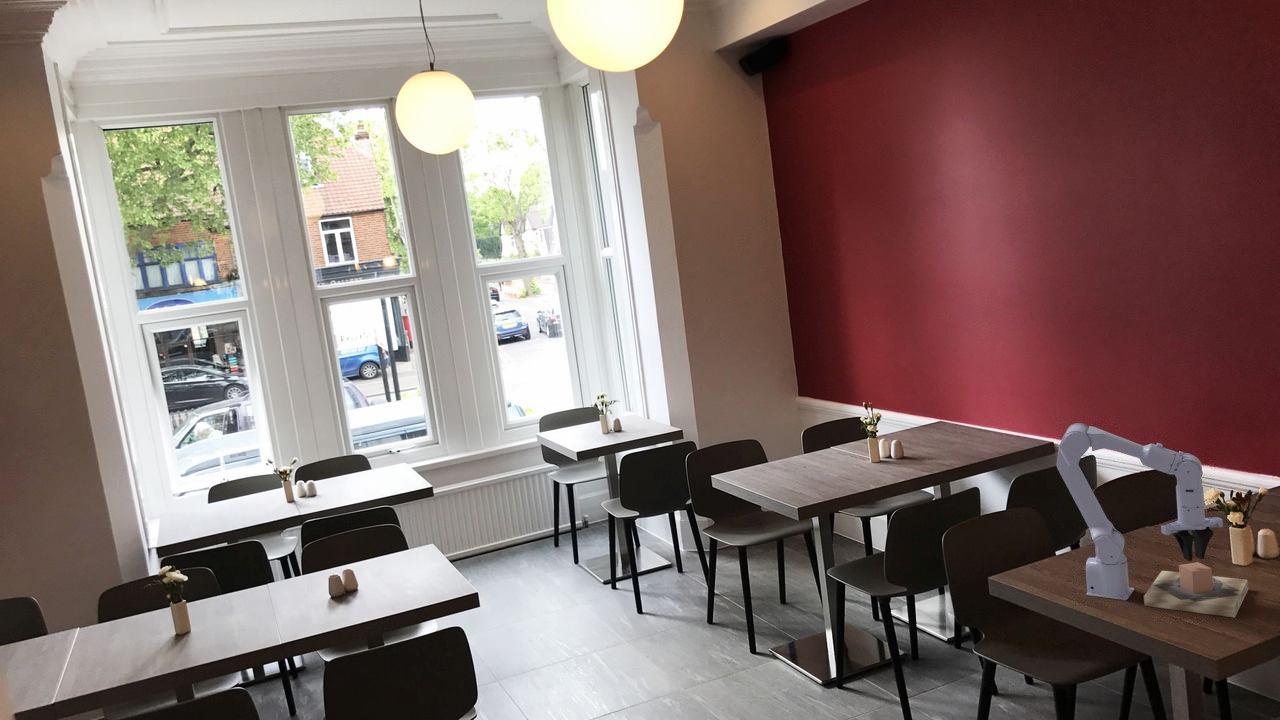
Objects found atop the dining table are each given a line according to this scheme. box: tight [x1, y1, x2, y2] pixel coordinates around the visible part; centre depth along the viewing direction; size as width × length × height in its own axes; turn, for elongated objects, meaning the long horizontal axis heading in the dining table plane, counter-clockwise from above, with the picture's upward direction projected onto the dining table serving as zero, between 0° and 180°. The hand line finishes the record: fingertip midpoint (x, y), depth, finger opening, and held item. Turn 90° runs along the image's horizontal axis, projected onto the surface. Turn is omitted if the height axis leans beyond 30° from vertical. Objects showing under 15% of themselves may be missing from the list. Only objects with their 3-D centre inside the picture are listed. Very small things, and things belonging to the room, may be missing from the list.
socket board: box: [1143, 570, 1249, 618], centre depth 234 cm, size 19×19×2 cm
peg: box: [1178, 561, 1213, 594], centre depth 234 cm, size 5×5×8 cm
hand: (1194, 558), depth 234 cm, fingers open, 2 cm apart
